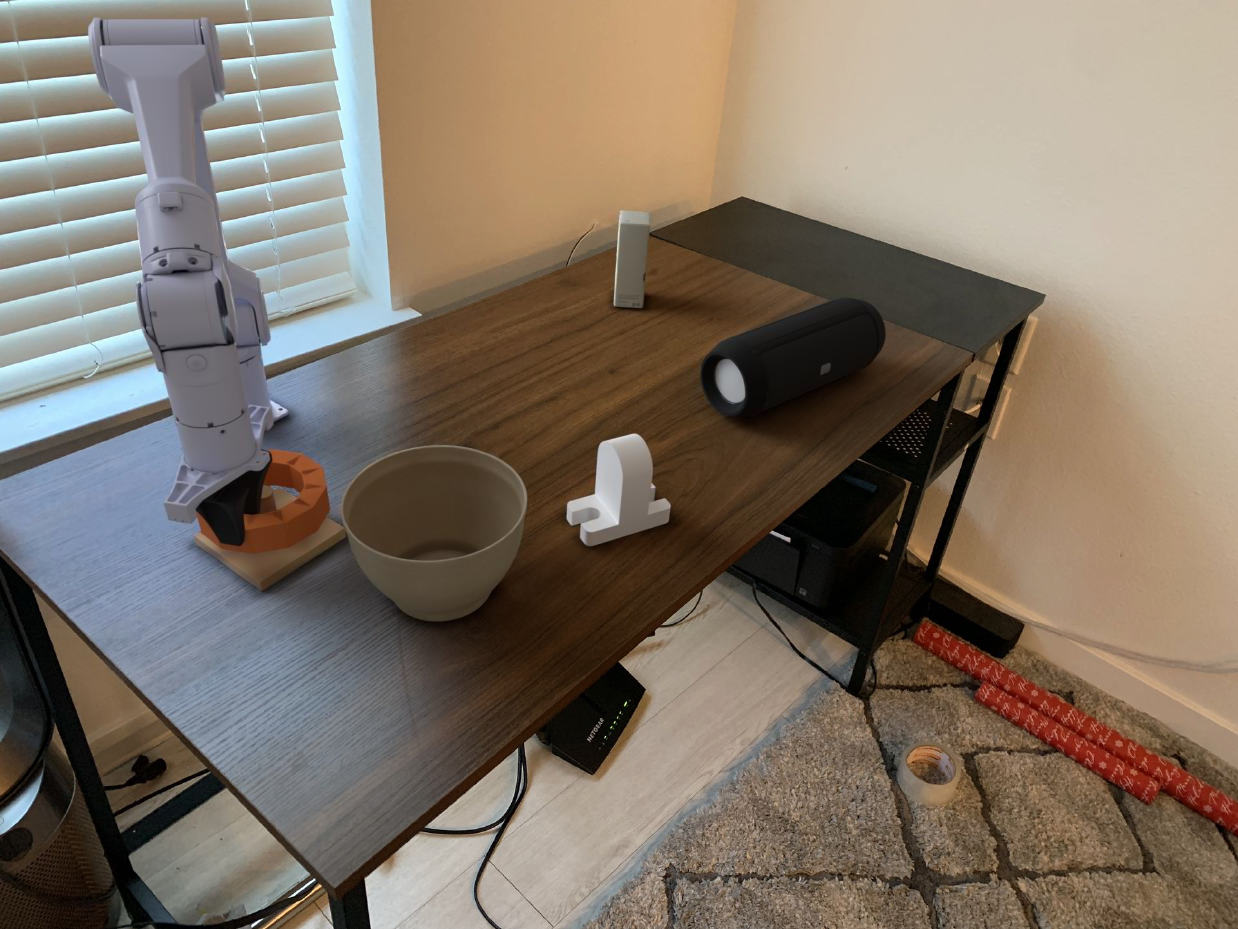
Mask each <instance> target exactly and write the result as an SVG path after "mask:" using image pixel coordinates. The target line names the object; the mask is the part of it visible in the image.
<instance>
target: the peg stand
mask: <svg viewBox="0 0 1238 929" xmlns="http://www.w3.org/2000/svg"><path fill="white" fill-rule="evenodd" d="M296 498H297V496H295V495H294V494H292V493H291V492H288V491H287V490H285V488H283V487H281V486H277V487H276V488H275V489H273V488H272V486H266V485H263V489H262V496H261V506H260V514H261V513H267V512H272V511H276V510H278V509H280V508H282V507H284V506H286V505H287V504H289V503H291V502H293V501H295V500H296ZM193 538H194V542H195V545H196V546H198V547H199V548H200V549H201V550H203V551H204V552H206V553H208V554H209V556H212V557H213V558H214V559H216V560H217V561H218V562H220V563H221V564H223V565H224V566H225V567H227V568H228V569H229V570H231V571H233V573H235V574H237V575H238V576H240V578H242V579H244V580H245V581H246V582H248V583H249V584H250V585H252V586H253V587H255V588H256V589H257V590H259V592H263V591H265V590H266V589H268V588H270V587H271V586H273V585H274V584H276V583H277V582H279V581H281V580H282V579H284V578H285V577H287V576H288V575H289V574H292V573H293V572H294V571H296V570H297V569H299V568H300V567H302V566H303V565H305V564H306V563H308V562H310V561H311V560H313V559H315V558H316V557H317V556H319V555H321V554H322V553H323V552H325V551H327V550H328V549H330V548H332V547H333V546H335V545H336V544H338V543H339V542H341V541H343V540H344V539H345V538H347V533H346V531H345V529H344V526H343V525H340V524H339V523H338V522H336V521H335V520H333V519H331V518H329V517H328V516H327V517H326V518H325V520H324V521H323V523H322V524H321V526H320V528H319V529H318V531H317V532H315V533H313V534H312V535H310V536H308V537H307V538H305V539H303V540H301V541H300V542H298V543H296V544H294V545H293V546H291V547H289V548H284V549H279V550H273V551H268V552H263V553H257V554H249V553H243V552H237V551H231V550H225V549H221V548H219V547H218V546H217V545H216V544H214V543H213V542H212V541H211V540H210V539H208V538H207V537H206V536H205V535H203V534H202V533H201V530H200V531H199V532H197V533H195V534H194V535H193Z"/></svg>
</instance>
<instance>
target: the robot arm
mask: <svg viewBox="0 0 1238 929" xmlns="http://www.w3.org/2000/svg"><path fill="white" fill-rule="evenodd" d="M87 33H88V34H87V35H88V44H89V50H90V55H91V58H92V65H93V68H94V72H95V75H96V76H95V77H96V78H97V82H98V84H99V87H100V89H101V90H102V92H103V94H105V95H106V96H108V98H109V99H110V100H111V101H112V103H113V106H114V107H115V108H117V109H119V110H123V111H124V112H128V113H130V114H133V118H134V122H135V126H136V131H137V136H138V141H139V145H140V149H141V154H142V158H143V163H144V167H145V171H146V176H147V181H148V185H147V186H145V187H144V188H143V189H142V190H140V191H139V193H137V195H136V197H135V199H134V208H135V209H134V210H135V217H136V226H137V227H136V228H137V238H138V244H139V245H138V247H139V254H140V264H141V272H142V280H143V282H140V281H137V282H136V285H135V302H136V310H137V316H138V320H139V324H140V328H141V331H142V334H143V337H144V339H145V341H146V344H147V346H148V348H149V350H150V351H151V354H152V357H153V359H154V364H155V367H156V370H157V372H158V373H162V377H163V380H164V384H165V388H166V392H167V397H168V400H169V404H170V407H171V411H172V415H173V419H174V422H175V427H176V430H177V435H178V437H179V441H180V446H181V450H182V455H181V458H180V461H179V463H178V464H179V465H178V468H177V470H176V475H175V477H174V481H173V484H172V487H171V491H170V492H169V494H168V496H167V497H166V499H165V500H164V501H163V505H164V509H165V513H166V516H167V520H168V521H171V522H176V523H181V524H189V525H192V524H193V523H194V522H195V520H196V519H198V518H197V514H196V511H197V512H198V513H199V514H200V515H201V516H202V517H203V519H204V520H205V521H206V522H207V524H208V525H209V526H210V528H211V529H212V531H213V532H214V534H215V535H216V537H217V538H218V540H219V541H220V543H222V544H228V545H234V546H242V544H243V543H244V540H245V524H244V514H249V515H255V514H260V506H261V496H262V489H263V485H264V481H265V477H266V474H267V472H268V469H269V467H270V465H271V463H272V461H273V460H272V455H271V453H270V452H269V451H267V450H268V449H263V448H262V445H263V440H264V435H265V431H270V430H271V428H272V427H274V423H275V422H277V421H279V420H280V419H282V418H284V417H287V416H288V415H289V409H287V408H286V407H283V406H281V405H280V404H278V403H276V402H275V401H273V400H271V397H270V392H269V387H268V381H267V376H266V371H265V365H264V360H263V354H262V347H267V346H268V343H269V342H270V341H271V340H272V336H271V330H270V322H269V316H268V309H267V305H266V298H265V294H264V292H263V290H262V284H261V279H260V278H259V277H258V276H257V275H258V274H257V273H256V272H255V271H253V270H251V269H249V268H248V267H247V268H246V267H244V266H242V265H240V264H238V263H235V262H234V261H232V260H230V259H229V253H228V249H227V244H226V239H225V238H226V237H225V233H224V228H223V222H222V217H221V213H220V206H219V201H218V196H217V192H216V187H215V182H214V176H213V172H212V165H211V161H210V156H209V151H208V146H207V141H206V140H207V139H206V134H205V130H204V124H203V123H204V122H203V121H204V116H205V112H206V109H209V108H210V107H214V106H215V105H216V104H218V103H222V102H224V101H225V96H226V95H227V90H226V89H227V85H226V79H225V71H224V66H223V61H222V60H223V59H222V54H221V48H220V43H219V36H218V32H217V27H216V24H214V22H213V21H211V20H210V19H209V17H205V16H204V17H200V19H197V18H195V19H194V18H189V19H188V18H166V19H165V18H163V19H162V18H160V19H159V18H156V19H155V18H153V19H152V18H151V19H150V18H144V19H143V18H139V19H137V18H136V19H135V18H134V19H132V18H131V19H129V18H128V19H127V18H126V19H125V18H124V19H123V18H122V19H121V18H120V19H119V18H117V19H116V18H115V19H114V18H113V19H112V18H111V19H103V17H94V18H92V21H91V22H90V24H88V27H87Z"/></svg>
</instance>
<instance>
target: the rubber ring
mask: <svg viewBox="0 0 1238 929" xmlns="http://www.w3.org/2000/svg"><path fill="white" fill-rule="evenodd" d="M266 450H267V451H269V452H270V453H271V455H272V460H273V461H272V463H271V465H270V467H269V469H268V472H267V474H266V477H265V481H264V485H266V486H270V487H281V488H288V489H293V490H295V491H296V492H297V493H299V494H298V495H297V496H296V500H295V501H293V502H291V503H289V504H287V505H286V506H284V507H282V508H280V509H278V510H276V511H272V512H267V513H261V514H255V515H249V514H244V524H245V540H244V543H243V544H242V546H234V545H228V544H222V543H220V541H219V540H218V538H217V537H216V535H215V534H214V532H213V531H212V529H211V528H210V526H209V525H208V524H207V522H206V521H205V520H204V519H203V517H202V516H201V515H200V514H199V513H198V512H197V511H196V514H197V518H196V519H197V522H198V525H199V529H200V531H201V533H202V534H203V535H205V536H206V537H207V538H208V539H210V540H211V541H212V542H213V543H214V544H216V545H217V546H218V547H219V548H221V549H225V550H231V551H237V552H243V553H249V554H257V553H263V552H268V551H273V550H279V549H284V548H289V547H291V546H293V545H294V544H296V543H298V542H300V541H301V540H303V539H305V538H307V537H308V536H310V535H312V534H313V533H315V532H317V531H318V529H319V528H320V526H321V524H322V523H323V521H324V520H325V518H326V517H328V515H329V513H330V512H331V505H330V497H329V491H328V486H327V480H326V476H325V472H324V467H323V466H322V465H320V464H319V463H318V462H316V461H314V460H313V459H311V457H308V456H307V455H306V454H304V453H301V452H294V451H288V450H281V449H275V448H273V449H266Z"/></svg>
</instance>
